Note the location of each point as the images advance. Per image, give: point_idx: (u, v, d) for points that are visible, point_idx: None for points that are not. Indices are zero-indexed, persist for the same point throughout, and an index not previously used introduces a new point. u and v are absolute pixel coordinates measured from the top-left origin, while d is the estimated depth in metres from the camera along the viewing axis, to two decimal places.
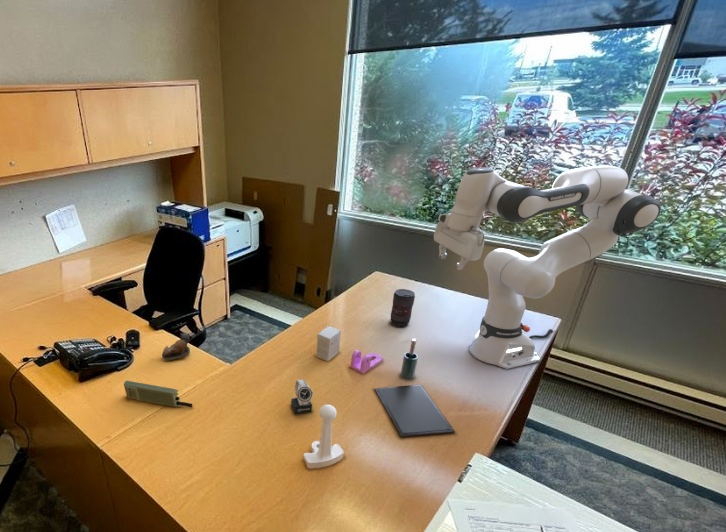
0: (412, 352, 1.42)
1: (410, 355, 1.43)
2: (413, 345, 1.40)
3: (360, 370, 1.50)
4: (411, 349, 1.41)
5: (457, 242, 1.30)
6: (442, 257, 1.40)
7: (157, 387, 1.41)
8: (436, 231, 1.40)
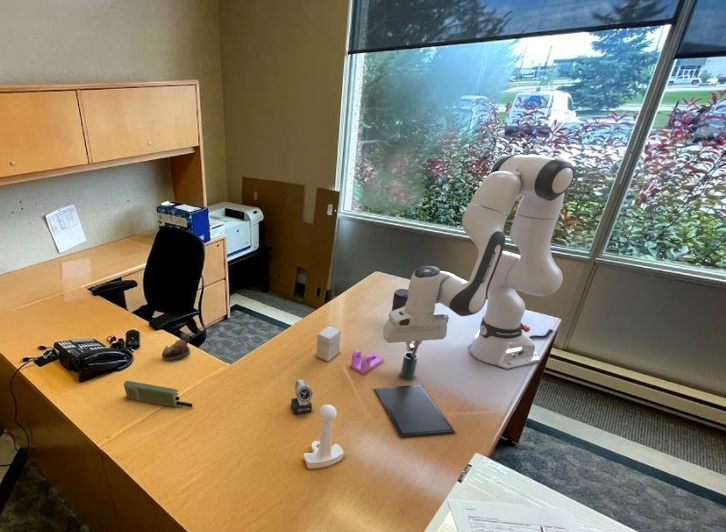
0: None
1: None
2: (414, 346, 1.39)
3: (360, 370, 1.50)
4: None
5: (425, 332, 1.37)
6: None
7: (157, 387, 1.41)
8: (391, 335, 1.36)
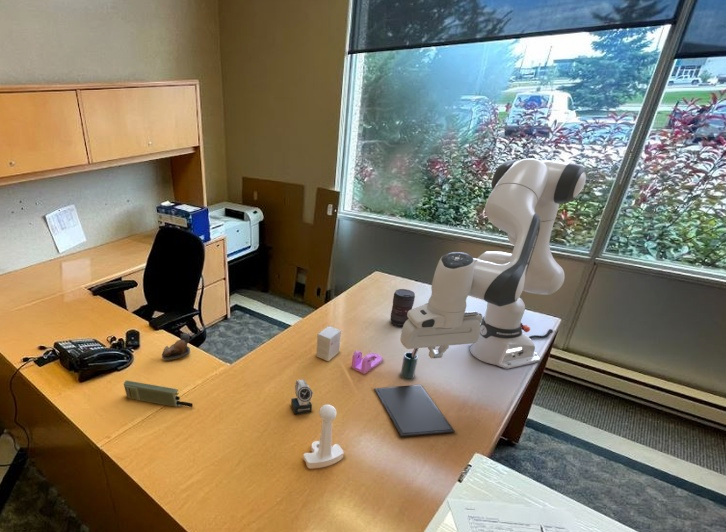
0: None
1: None
2: None
3: (361, 370, 1.50)
4: None
5: (453, 334, 1.10)
6: None
7: (157, 387, 1.41)
8: (411, 339, 1.10)
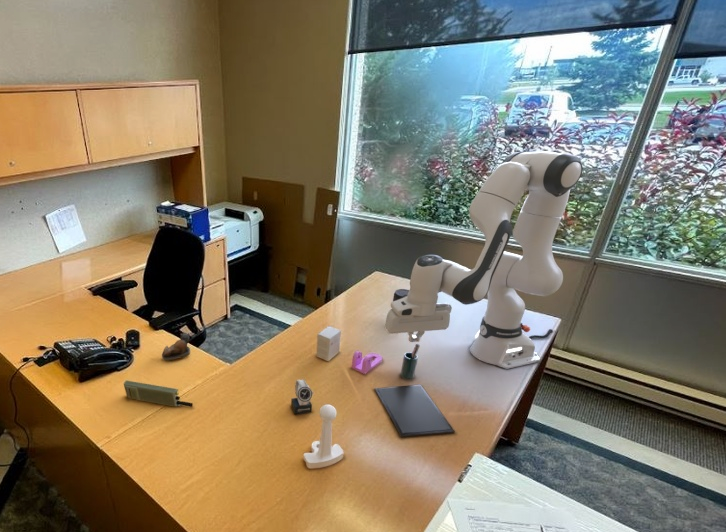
0: None
1: None
2: (414, 347, 1.40)
3: (362, 370, 1.50)
4: None
5: (428, 322, 1.35)
6: None
7: (157, 387, 1.41)
8: (393, 325, 1.34)
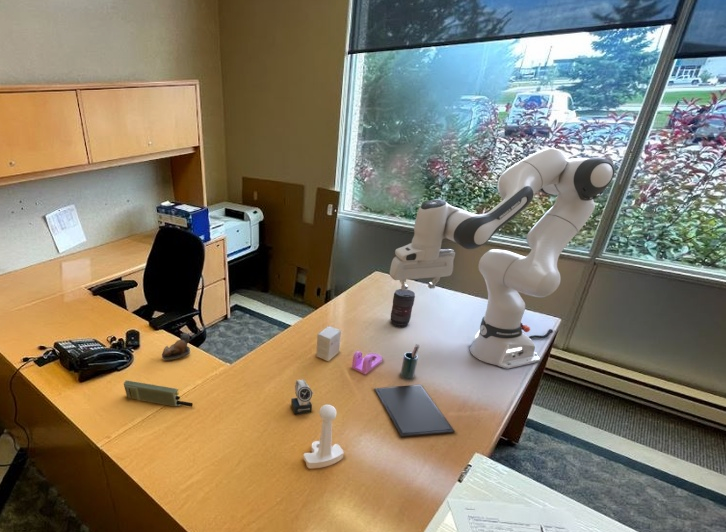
0: None
1: None
2: (414, 347, 1.40)
3: (362, 371, 1.50)
4: None
5: (432, 268, 1.37)
6: None
7: (157, 387, 1.41)
8: (398, 271, 1.37)
